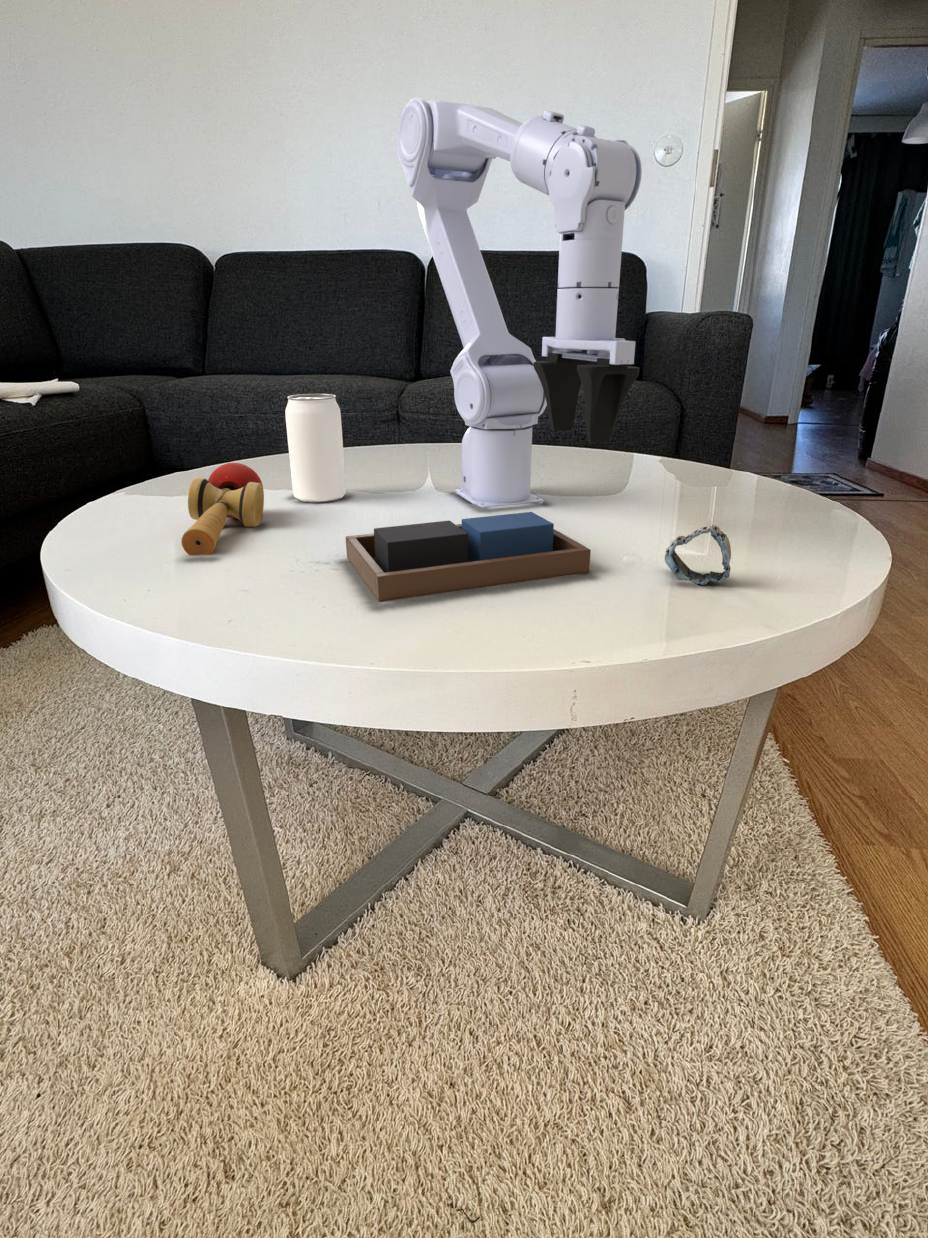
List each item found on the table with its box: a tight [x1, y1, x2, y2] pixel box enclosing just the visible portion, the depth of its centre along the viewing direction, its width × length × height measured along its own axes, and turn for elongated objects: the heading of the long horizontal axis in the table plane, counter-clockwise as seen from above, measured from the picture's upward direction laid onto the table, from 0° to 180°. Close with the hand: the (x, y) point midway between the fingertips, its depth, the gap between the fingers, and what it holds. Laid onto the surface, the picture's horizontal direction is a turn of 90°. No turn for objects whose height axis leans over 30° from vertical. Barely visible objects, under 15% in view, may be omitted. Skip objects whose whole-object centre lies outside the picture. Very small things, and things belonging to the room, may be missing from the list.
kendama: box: [181, 462, 265, 556], centre depth 74 cm, size 8×6×18 cm
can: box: [284, 393, 347, 504], centre depth 87 cm, size 6×6×12 cm
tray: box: [345, 523, 592, 603], centre depth 63 cm, size 12×19×2 cm, turn 111°
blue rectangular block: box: [461, 511, 555, 562], centre depth 64 cm, size 4×7×4 cm, turn 111°
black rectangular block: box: [373, 520, 468, 573], centre depth 62 cm, size 4×7×4 cm, turn 111°
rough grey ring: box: [664, 524, 732, 586], centre depth 60 cm, size 3×5×5 cm
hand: (579, 435), depth 73 cm, fingers open, 7 cm apart
